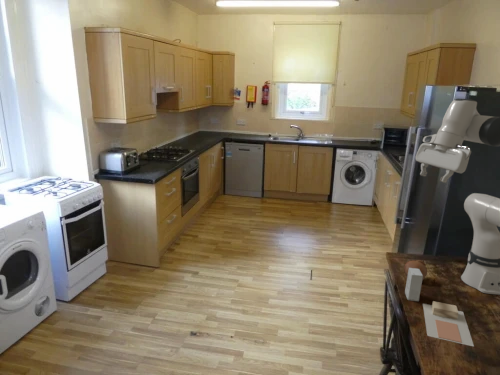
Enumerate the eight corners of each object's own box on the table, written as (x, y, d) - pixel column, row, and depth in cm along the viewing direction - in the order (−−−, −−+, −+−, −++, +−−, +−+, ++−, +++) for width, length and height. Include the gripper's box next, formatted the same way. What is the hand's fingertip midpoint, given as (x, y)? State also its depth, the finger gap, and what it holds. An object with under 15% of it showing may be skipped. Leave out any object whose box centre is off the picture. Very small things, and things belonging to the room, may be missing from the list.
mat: (462, 313, 135) (463, 311, 135) (473, 348, 117) (474, 346, 117) (422, 304, 140) (422, 303, 140) (427, 337, 122) (427, 335, 122)
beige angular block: (454, 312, 134) (456, 305, 133) (456, 319, 130) (458, 312, 129) (431, 307, 137) (432, 301, 136) (432, 314, 133) (434, 307, 132)
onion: (417, 282, 162) (427, 262, 161) (423, 288, 152) (434, 267, 151) (397, 272, 163) (407, 253, 162) (402, 277, 154) (413, 257, 153)
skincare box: (418, 302, 141) (423, 276, 138) (407, 301, 142) (411, 274, 139) (415, 294, 147) (419, 268, 144) (404, 292, 148) (408, 267, 144)
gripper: (479, 149, 118) (462, 188, 121) (432, 141, 137) (418, 174, 140) (466, 144, 116) (449, 184, 119) (420, 136, 135) (406, 170, 137)
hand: (432, 178), depth 129 cm, fingers open, 8 cm apart
